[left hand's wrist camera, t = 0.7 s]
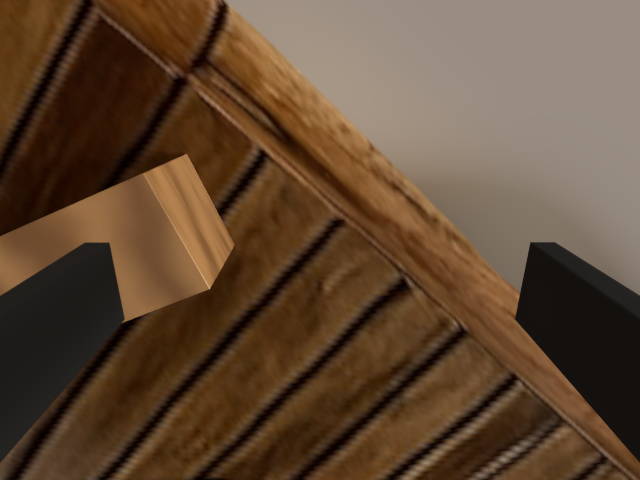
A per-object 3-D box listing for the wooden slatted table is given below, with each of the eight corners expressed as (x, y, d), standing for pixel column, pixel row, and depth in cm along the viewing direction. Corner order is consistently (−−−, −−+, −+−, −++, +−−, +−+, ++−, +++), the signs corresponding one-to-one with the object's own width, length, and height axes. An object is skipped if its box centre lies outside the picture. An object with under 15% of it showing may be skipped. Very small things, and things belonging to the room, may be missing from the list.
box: (187, 153, 33) (143, 173, 25) (235, 245, 36) (210, 289, 28) (-68, 266, 37) (-178, 315, 29) (-5, 340, 40) (-90, 404, 32)
